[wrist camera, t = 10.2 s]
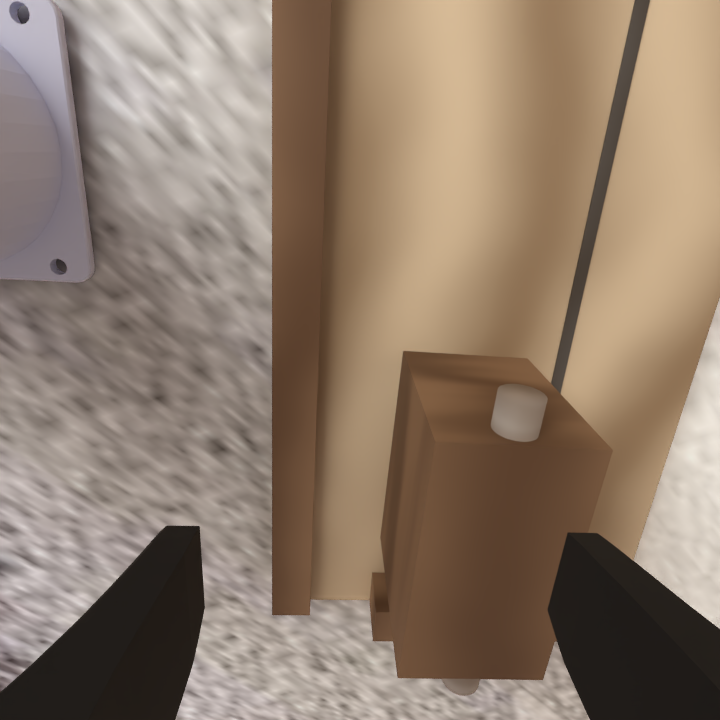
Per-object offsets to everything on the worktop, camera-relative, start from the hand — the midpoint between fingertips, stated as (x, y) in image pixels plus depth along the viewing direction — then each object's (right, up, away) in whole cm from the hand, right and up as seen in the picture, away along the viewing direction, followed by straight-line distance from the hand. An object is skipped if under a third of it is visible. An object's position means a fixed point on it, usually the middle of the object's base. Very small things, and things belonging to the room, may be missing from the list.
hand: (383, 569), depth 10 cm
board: (+4, +7, +8) cm, 11 cm away
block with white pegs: (+3, +1, +9) cm, 10 cm away
